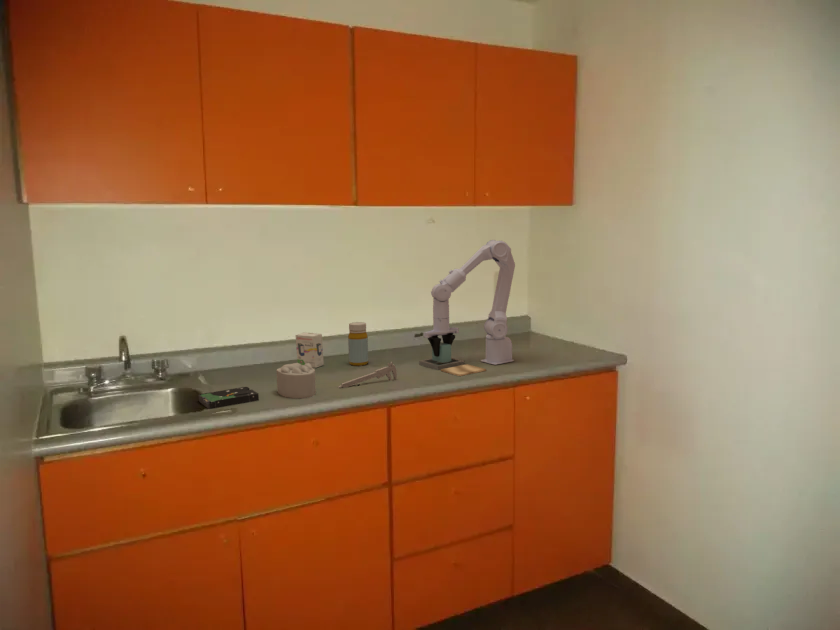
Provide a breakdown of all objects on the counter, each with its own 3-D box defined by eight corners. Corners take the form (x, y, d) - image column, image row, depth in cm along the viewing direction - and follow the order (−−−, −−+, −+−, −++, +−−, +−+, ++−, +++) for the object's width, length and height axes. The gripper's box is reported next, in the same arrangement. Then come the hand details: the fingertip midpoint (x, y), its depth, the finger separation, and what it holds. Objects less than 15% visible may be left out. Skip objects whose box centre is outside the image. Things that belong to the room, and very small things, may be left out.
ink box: (324, 365, 234) (323, 333, 233) (315, 368, 230) (314, 335, 228) (304, 363, 238) (303, 331, 236) (296, 366, 233) (294, 334, 232)
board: (467, 365, 230) (467, 364, 230) (486, 370, 222) (486, 369, 222) (440, 370, 223) (440, 369, 223) (459, 376, 215) (459, 374, 215)
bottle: (354, 367, 231) (353, 325, 229) (345, 363, 237) (344, 323, 234) (371, 364, 235) (370, 323, 232) (362, 361, 240) (361, 321, 238)
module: (440, 358, 235) (440, 342, 234) (451, 361, 230) (451, 344, 230) (432, 360, 233) (431, 343, 232) (442, 362, 228) (442, 346, 227)
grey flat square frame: (445, 360, 240) (445, 356, 240) (464, 365, 231) (464, 361, 231) (419, 364, 233) (419, 360, 233) (438, 370, 224) (438, 365, 224)
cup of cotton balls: (304, 386, 206) (303, 359, 204) (323, 394, 195) (322, 366, 194) (273, 391, 200) (272, 364, 198) (291, 400, 189) (290, 371, 188)
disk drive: (247, 395, 198) (198, 402, 190) (246, 386, 198) (197, 393, 189) (259, 402, 190) (209, 410, 181) (259, 393, 189) (208, 401, 181)
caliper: (395, 379, 213) (394, 361, 212) (396, 380, 212) (396, 361, 211) (337, 388, 203) (336, 369, 202) (339, 389, 202) (338, 369, 201)
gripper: (449, 314, 237) (450, 350, 239) (418, 318, 228) (418, 356, 230) (462, 316, 231) (462, 353, 233) (430, 320, 223) (430, 359, 225)
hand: (441, 355), depth 231 cm, fingers closed on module, 4 cm apart
